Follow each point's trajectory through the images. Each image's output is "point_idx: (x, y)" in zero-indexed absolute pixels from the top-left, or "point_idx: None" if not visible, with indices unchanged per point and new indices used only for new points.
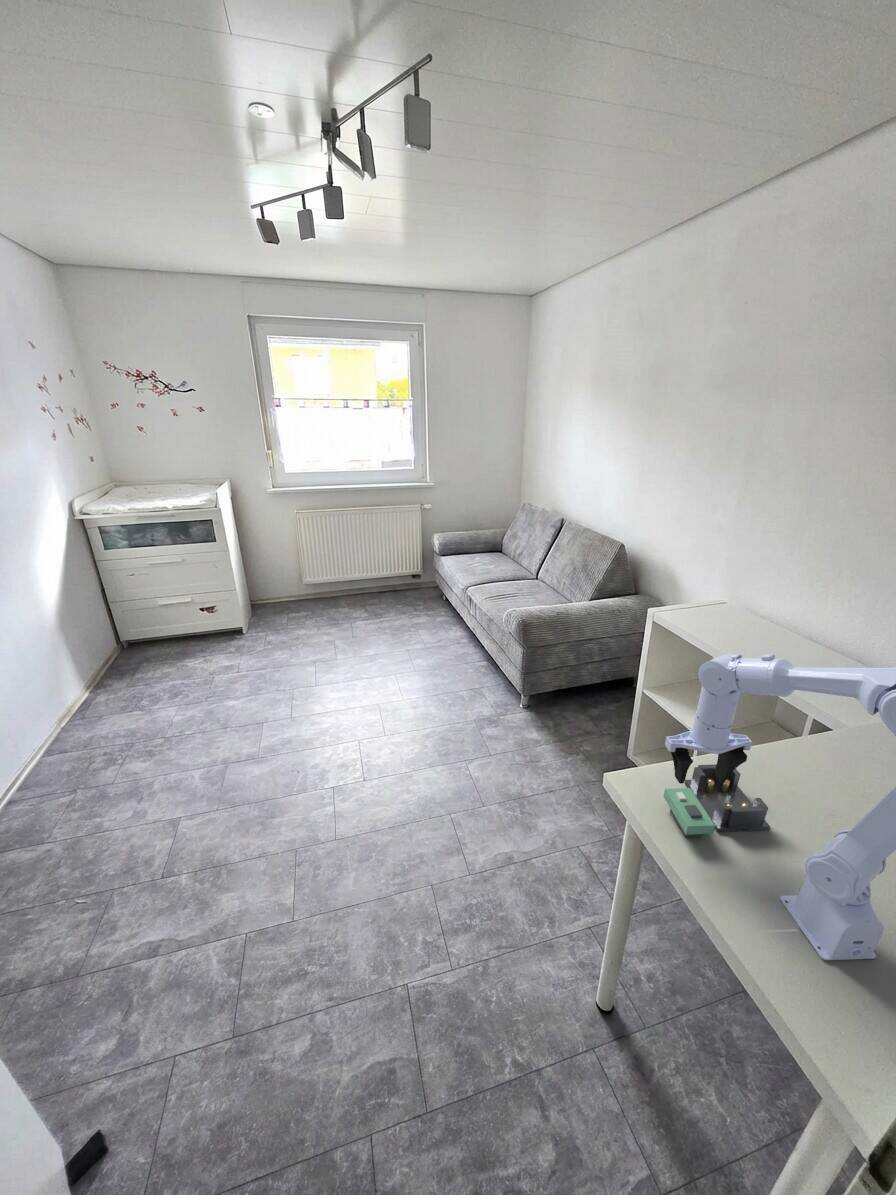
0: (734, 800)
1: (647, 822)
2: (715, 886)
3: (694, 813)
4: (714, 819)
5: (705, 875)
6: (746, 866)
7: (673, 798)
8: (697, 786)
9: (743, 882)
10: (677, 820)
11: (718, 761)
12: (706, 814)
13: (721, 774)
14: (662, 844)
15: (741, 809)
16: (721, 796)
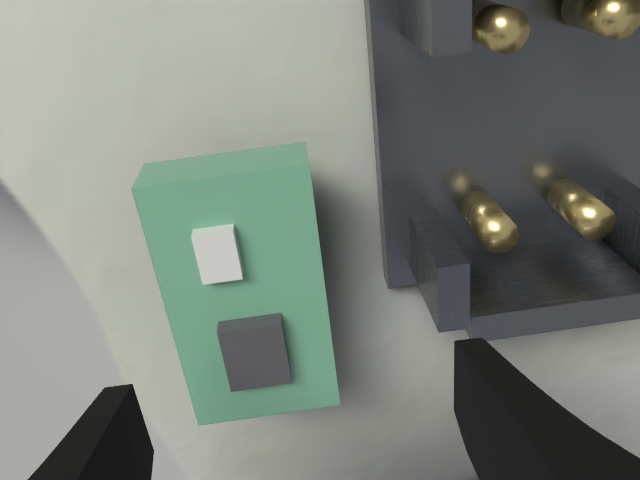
0: (584, 97)
1: (65, 248)
2: (273, 473)
3: (251, 379)
4: (398, 241)
5: (253, 444)
6: (422, 397)
7: (168, 265)
8: (406, 34)
9: (376, 450)
10: None
11: (513, 433)
12: (325, 351)
13: (476, 444)
14: (119, 351)
15: (530, 323)
16: (527, 71)
